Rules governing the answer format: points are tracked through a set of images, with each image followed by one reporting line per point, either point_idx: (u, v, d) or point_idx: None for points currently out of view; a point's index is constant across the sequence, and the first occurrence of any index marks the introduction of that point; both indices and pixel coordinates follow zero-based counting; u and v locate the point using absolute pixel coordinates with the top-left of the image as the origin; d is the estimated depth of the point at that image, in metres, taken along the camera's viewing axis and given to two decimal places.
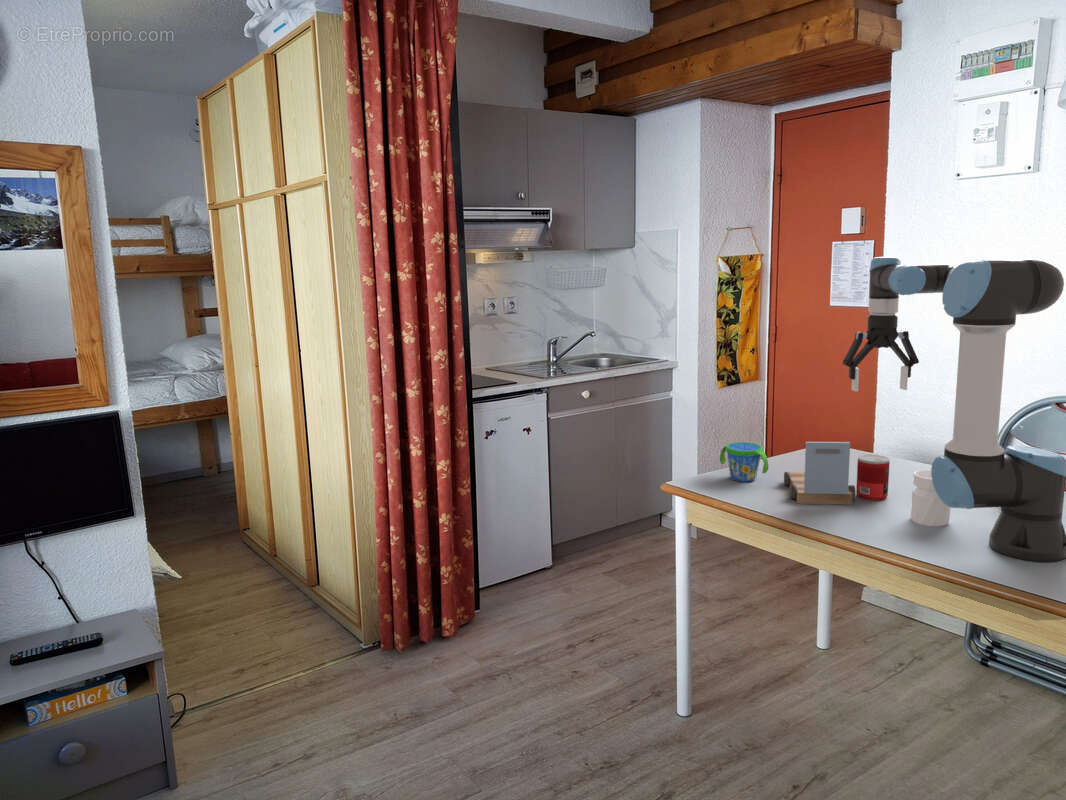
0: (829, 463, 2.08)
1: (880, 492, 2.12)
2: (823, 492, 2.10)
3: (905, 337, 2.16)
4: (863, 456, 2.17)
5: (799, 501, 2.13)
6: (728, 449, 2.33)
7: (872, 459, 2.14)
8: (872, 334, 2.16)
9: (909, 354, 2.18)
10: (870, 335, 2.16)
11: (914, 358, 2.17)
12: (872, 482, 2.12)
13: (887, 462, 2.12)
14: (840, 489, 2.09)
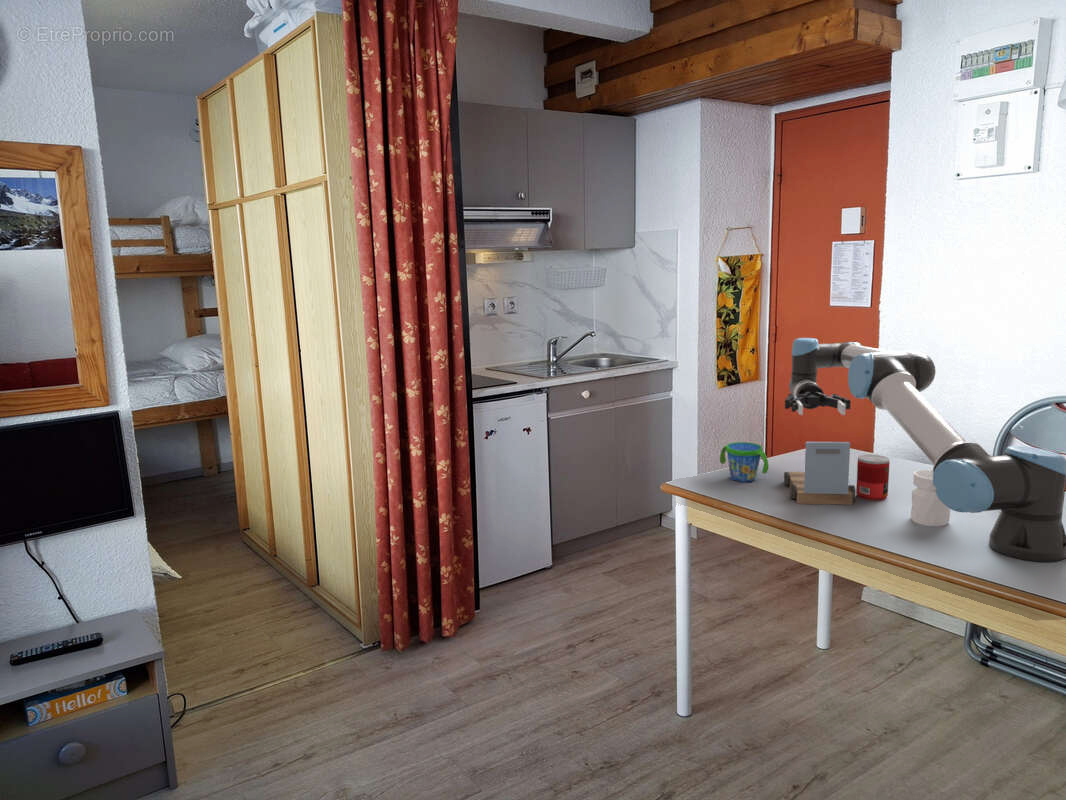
0: (829, 463, 2.08)
1: (880, 492, 2.12)
2: (823, 492, 2.10)
3: (834, 395, 2.28)
4: (863, 456, 2.17)
5: (799, 501, 2.13)
6: (728, 449, 2.33)
7: (872, 459, 2.14)
8: (801, 394, 2.31)
9: None
10: (799, 394, 2.31)
11: (845, 399, 2.22)
12: (872, 482, 2.12)
13: (887, 462, 2.12)
14: (840, 489, 2.09)
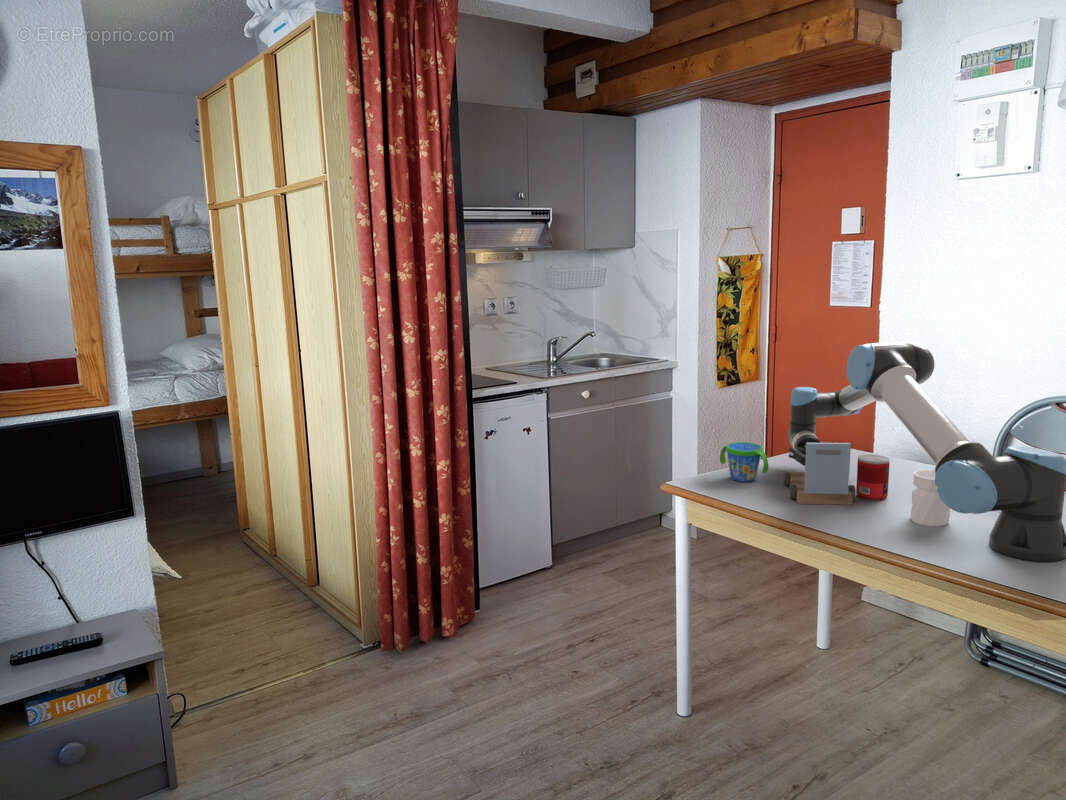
0: (829, 464, 2.08)
1: (880, 492, 2.12)
2: (823, 492, 2.10)
3: None
4: (863, 456, 2.17)
5: (799, 501, 2.13)
6: (728, 449, 2.33)
7: (872, 459, 2.14)
8: (798, 447, 2.28)
9: None
10: (798, 448, 2.27)
11: None
12: (872, 482, 2.12)
13: (887, 462, 2.12)
14: (840, 489, 2.09)
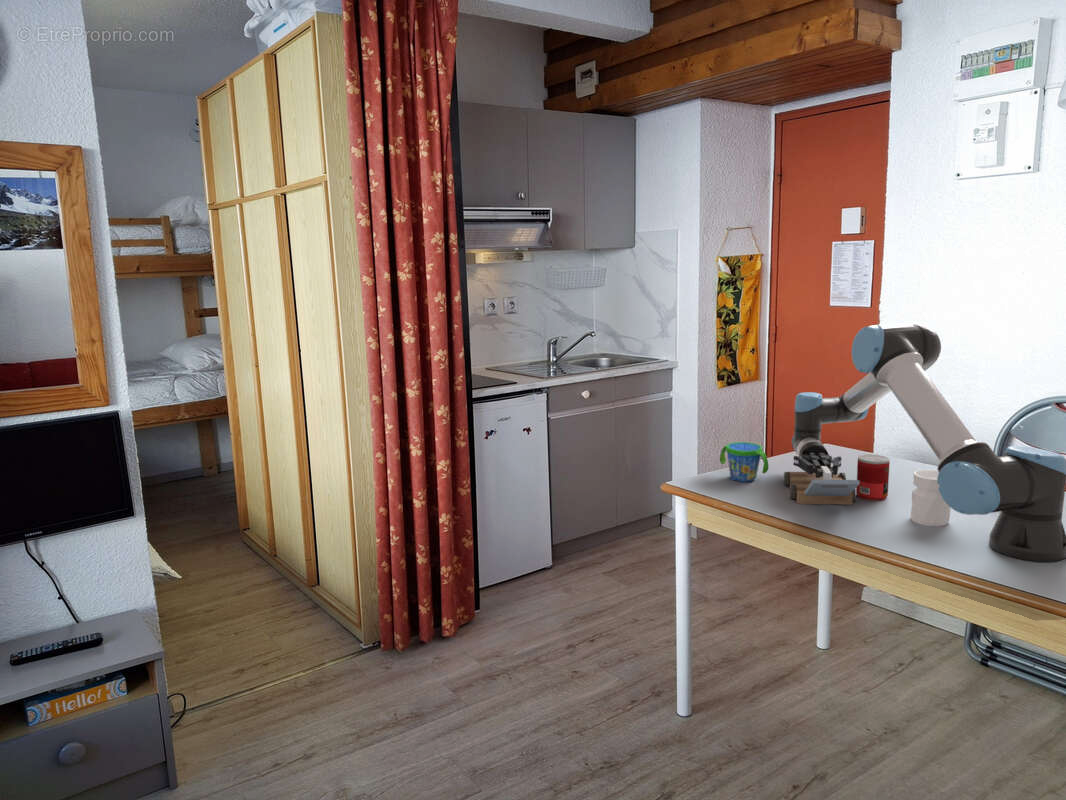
0: (833, 488, 2.02)
1: (880, 492, 2.12)
2: (823, 495, 2.10)
3: (836, 458, 2.16)
4: (863, 456, 2.17)
5: (799, 501, 2.13)
6: (728, 449, 2.33)
7: (872, 459, 2.14)
8: (803, 455, 2.20)
9: None
10: (803, 455, 2.19)
11: (834, 464, 2.10)
12: (872, 482, 2.12)
13: (887, 462, 2.12)
14: (841, 494, 2.08)
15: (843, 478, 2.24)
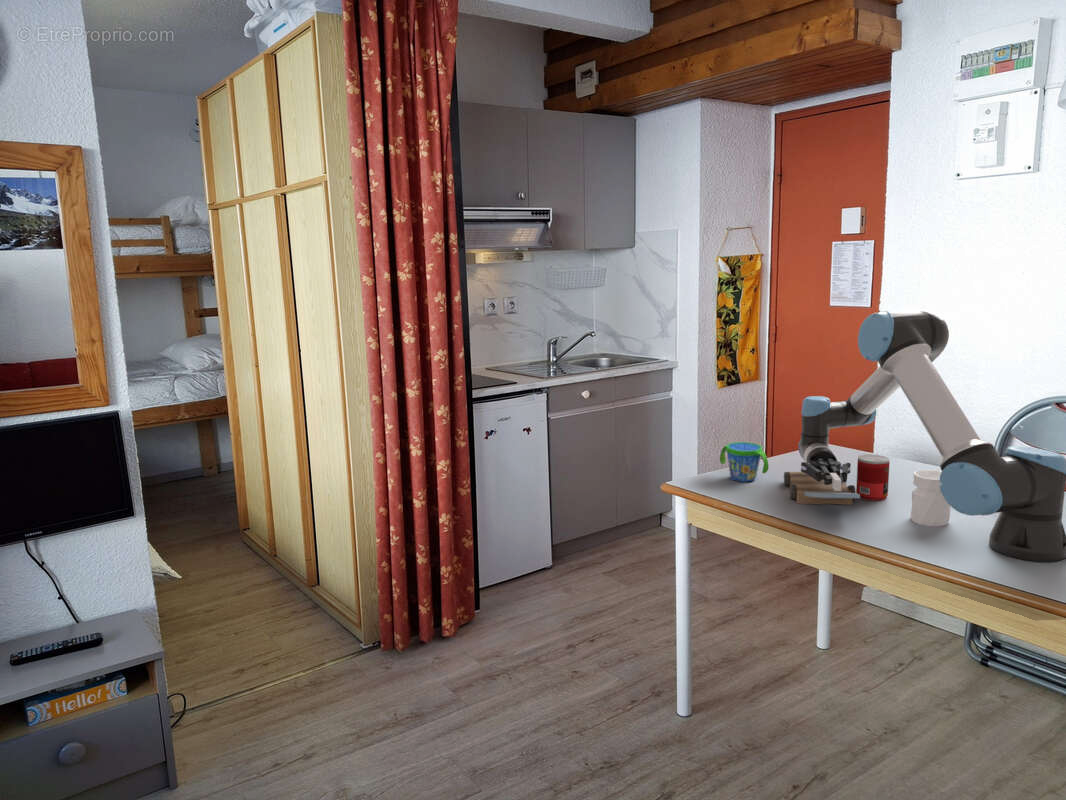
0: None
1: (880, 492, 2.12)
2: None
3: (845, 464, 2.09)
4: (863, 456, 2.17)
5: (799, 501, 2.13)
6: (728, 449, 2.33)
7: (872, 459, 2.14)
8: (811, 461, 2.13)
9: None
10: (811, 462, 2.12)
11: (843, 470, 2.03)
12: (872, 482, 2.12)
13: (887, 462, 2.12)
14: None
15: None
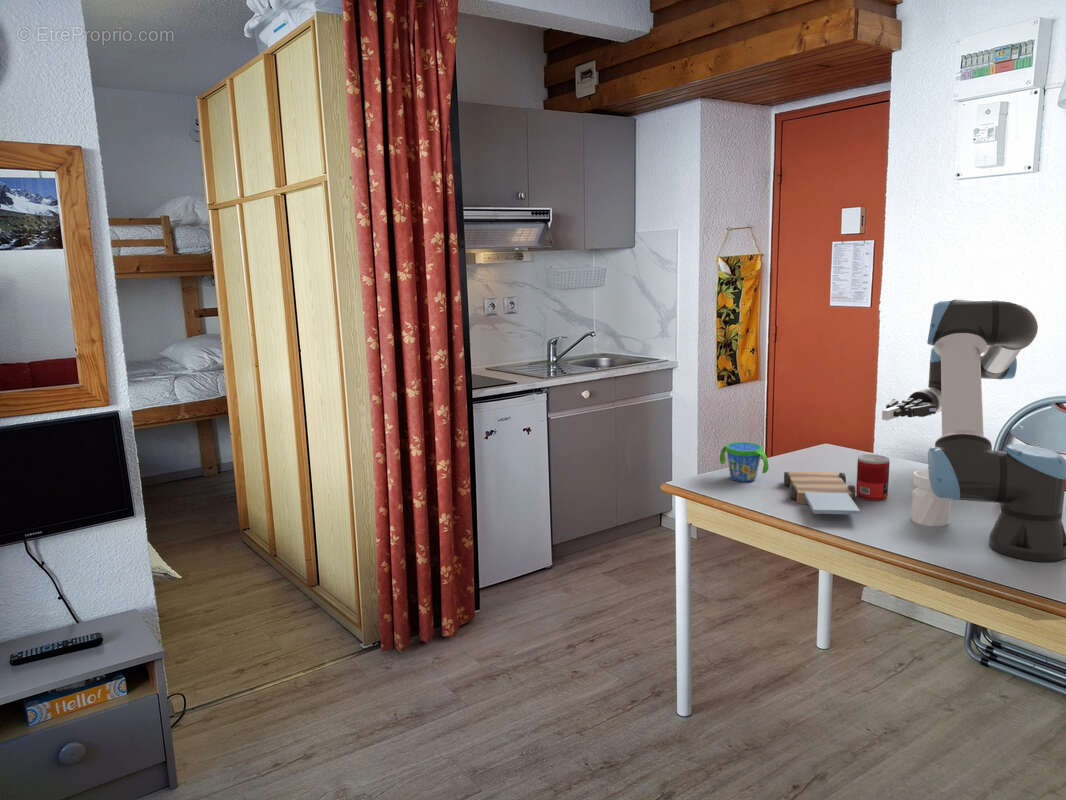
0: None
1: (880, 492, 2.12)
2: None
3: (929, 405, 2.21)
4: (863, 456, 2.17)
5: (799, 501, 2.13)
6: (728, 449, 2.33)
7: (872, 459, 2.14)
8: (905, 400, 2.29)
9: None
10: (904, 400, 2.29)
11: (912, 407, 2.19)
12: (872, 482, 2.12)
13: (887, 462, 2.12)
14: None
15: (843, 478, 2.24)
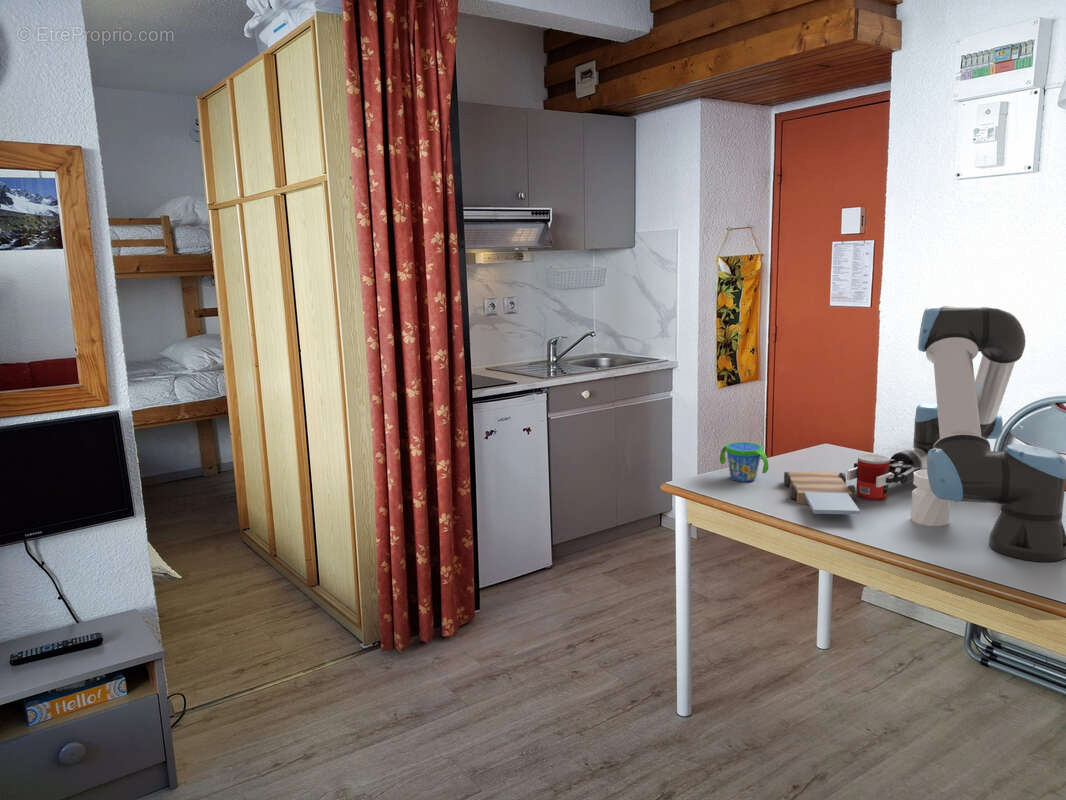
0: None
1: (880, 492, 2.12)
2: None
3: (914, 468, 2.17)
4: (863, 456, 2.17)
5: (799, 501, 2.13)
6: (728, 449, 2.33)
7: (872, 459, 2.14)
8: None
9: None
10: None
11: (904, 473, 2.12)
12: (872, 482, 2.12)
13: (887, 462, 2.12)
14: None
15: (843, 478, 2.24)
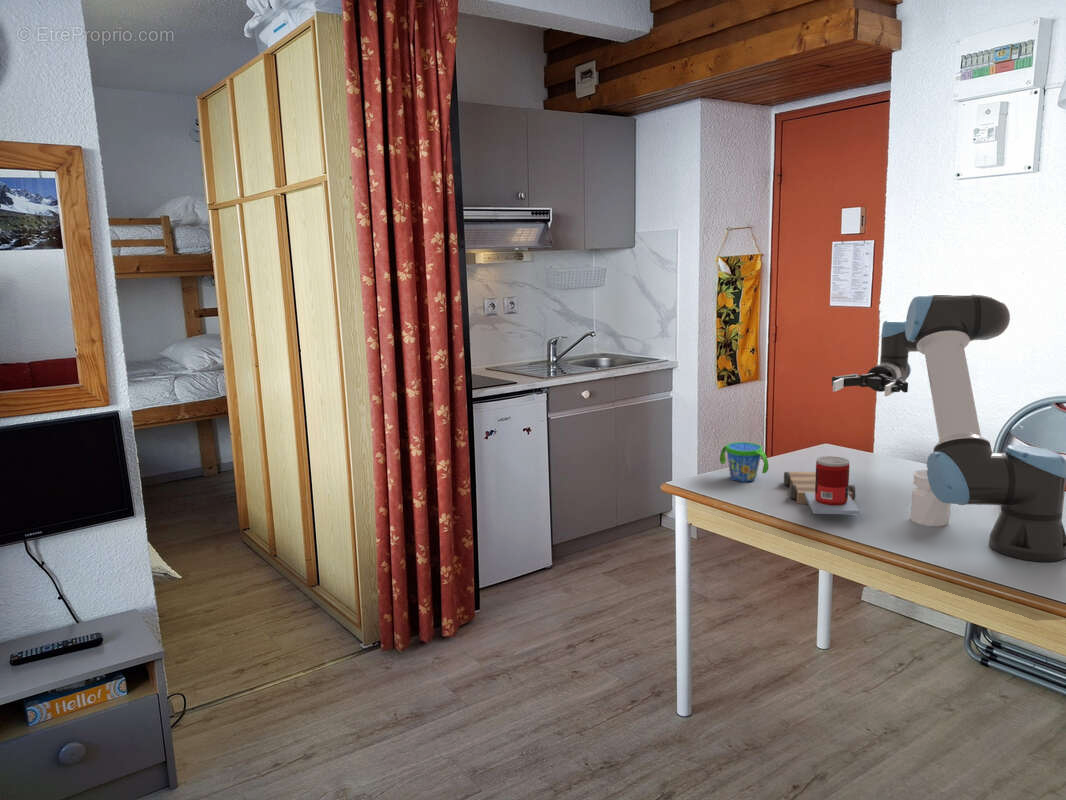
0: None
1: (843, 495, 2.00)
2: None
3: (899, 378, 2.19)
4: (820, 459, 2.03)
5: (799, 501, 2.13)
6: (728, 449, 2.33)
7: (831, 461, 2.01)
8: None
9: None
10: None
11: (904, 382, 2.13)
12: (835, 486, 1.99)
13: (848, 464, 1.99)
14: None
15: None
